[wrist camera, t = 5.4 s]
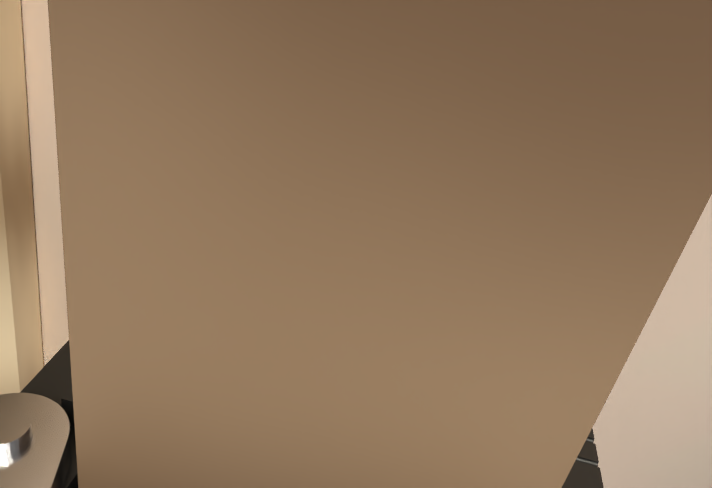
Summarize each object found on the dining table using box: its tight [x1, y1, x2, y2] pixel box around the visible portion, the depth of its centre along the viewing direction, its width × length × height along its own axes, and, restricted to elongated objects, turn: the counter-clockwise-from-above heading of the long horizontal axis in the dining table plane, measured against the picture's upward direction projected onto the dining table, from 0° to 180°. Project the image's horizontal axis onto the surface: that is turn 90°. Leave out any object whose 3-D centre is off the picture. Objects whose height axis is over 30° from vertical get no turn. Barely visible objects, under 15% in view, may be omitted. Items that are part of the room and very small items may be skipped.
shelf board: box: [48, 0, 712, 488], centre depth 9 cm, size 16×4×5 cm, turn 169°
